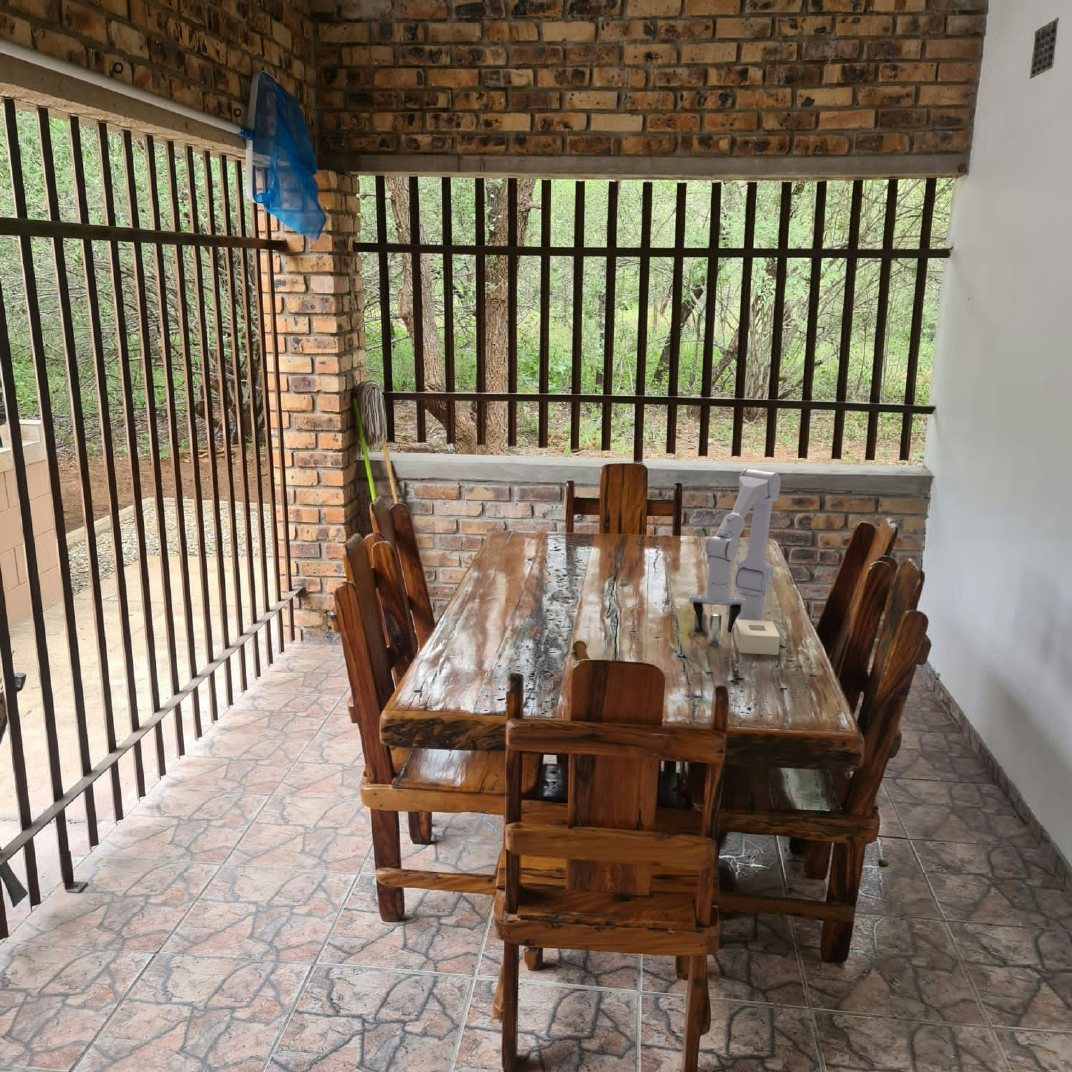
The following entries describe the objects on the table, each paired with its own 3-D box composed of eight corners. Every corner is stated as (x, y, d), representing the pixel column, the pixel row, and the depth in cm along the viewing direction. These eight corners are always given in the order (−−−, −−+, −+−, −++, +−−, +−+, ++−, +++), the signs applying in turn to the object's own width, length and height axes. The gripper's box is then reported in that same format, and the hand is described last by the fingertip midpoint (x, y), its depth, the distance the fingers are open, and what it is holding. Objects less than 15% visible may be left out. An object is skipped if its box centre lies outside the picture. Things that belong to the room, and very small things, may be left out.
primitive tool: (601, 681, 230) (601, 667, 229) (578, 681, 229) (579, 668, 228) (585, 652, 248) (586, 639, 247) (564, 652, 247) (565, 639, 246)
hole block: (733, 636, 261) (735, 619, 260) (771, 638, 260) (772, 621, 259) (739, 652, 249) (740, 634, 248) (778, 654, 248) (780, 636, 247)
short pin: (693, 627, 267) (694, 612, 266) (704, 628, 267) (705, 613, 266) (694, 631, 264) (695, 616, 263) (705, 632, 264) (706, 616, 263)
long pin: (707, 641, 257) (709, 612, 255) (718, 641, 257) (721, 613, 255) (708, 645, 254) (710, 616, 252) (720, 645, 254) (722, 617, 252)
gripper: (691, 584, 248) (688, 634, 251) (748, 587, 247) (744, 637, 250) (689, 576, 255) (686, 625, 258) (745, 579, 254) (740, 628, 257)
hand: (714, 630), depth 255 cm, fingers open, 7 cm apart
